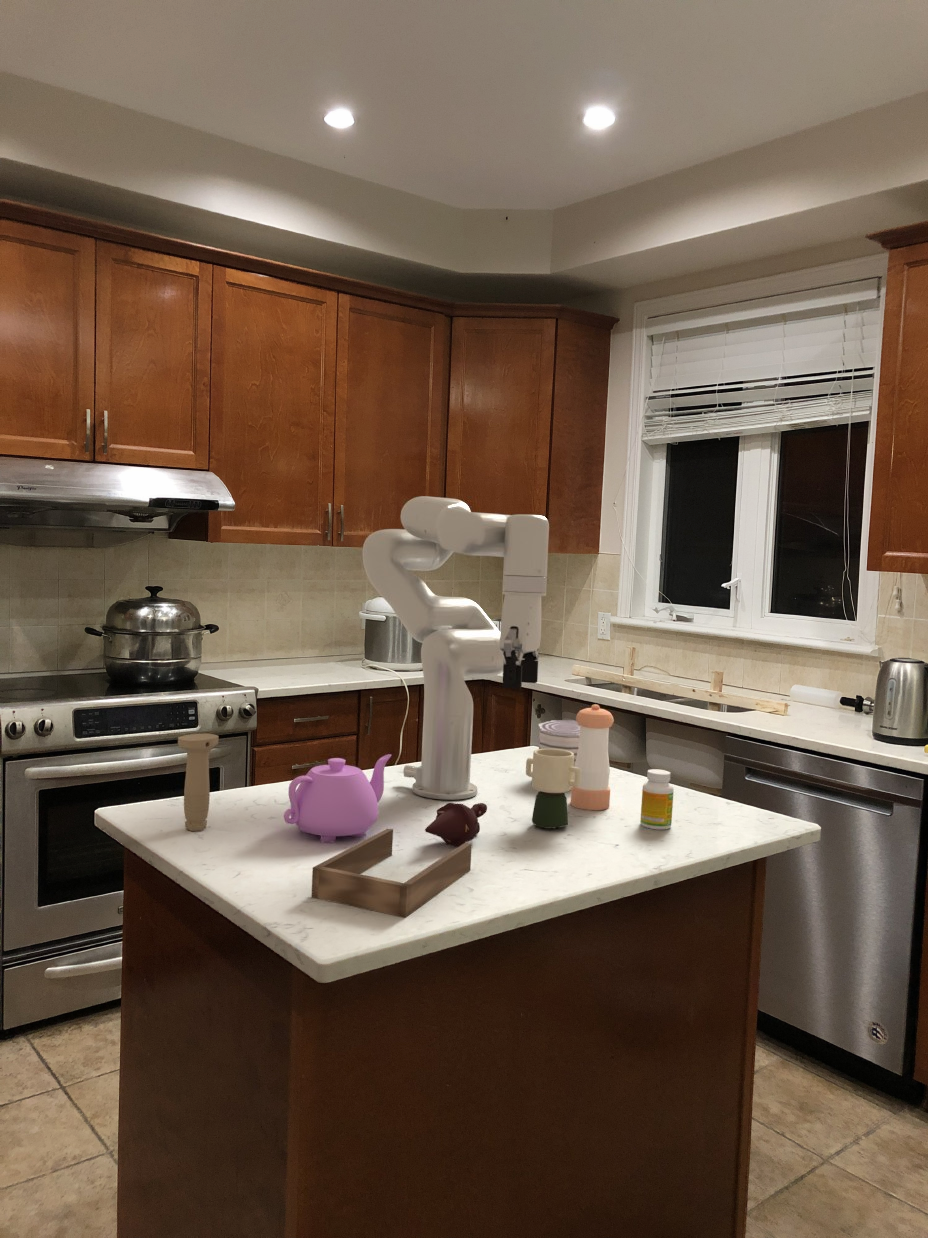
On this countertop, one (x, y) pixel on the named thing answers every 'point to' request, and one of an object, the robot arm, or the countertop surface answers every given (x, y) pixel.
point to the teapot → (336, 799)
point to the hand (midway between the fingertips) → (520, 685)
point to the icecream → (457, 823)
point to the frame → (352, 888)
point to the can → (560, 735)
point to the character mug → (552, 785)
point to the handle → (197, 778)
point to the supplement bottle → (657, 800)
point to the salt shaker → (593, 759)
